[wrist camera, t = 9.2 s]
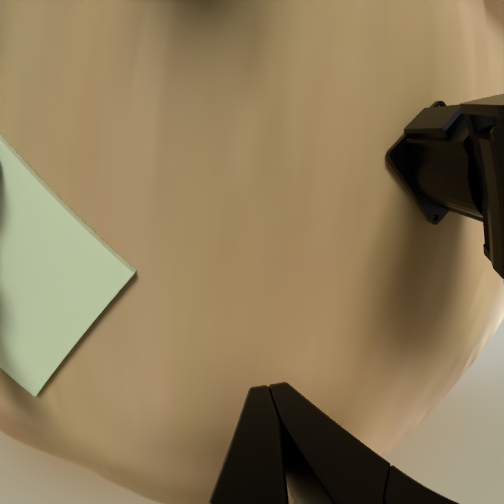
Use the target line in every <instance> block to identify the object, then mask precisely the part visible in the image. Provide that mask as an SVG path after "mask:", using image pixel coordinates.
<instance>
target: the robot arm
mask: <svg viewBox="0 0 504 504" xmlns="http://www.w3.org/2000/svg"><path fill="white" fill-rule="evenodd" d="M439 105H440V107H439ZM394 152H395V154H396V158H395V159H394V158H393V153H394ZM386 156H387V159H388V161H389V163H390V164H391V165H392V167H393V168H394V170H395V171H396V172H397V174H398V175H399V177H400V178H401V180H402V181H403V183H404V184H405V185H406V187H407V188H408V190H409V191H410V193H411V195H412V196H413V198H414V199H415V201H416V202H417V204H418V205H419V207H420V208H421V210H422V212H423V213H424V215H425V217H426V218H427V220H428V221H429V222H430V223H432V224H435V225H436V224H438V223H439V222H440V221H441V220H442V218H443V217H444V216H445V215H446V214H447V213H448V211H452V212H455V213H458V214H461V215H464V216H467V217H470V218H472V219H475V220H478V221H481V222H483V225H484V238H485V244H484V245H483V246H484V254H485V256H486V257H487V258H488V259H489V260H490V261H491V263H492V266H493V269H494V270H495V271H496V272H497V273H498V274H499V275H500V276H501V277H502V278H503V279H504V94H501V95H496V96H491V97H487V98H482V99H478V100H473V101H469V102H465V103H461V104H460V105H451V106H446V104H445V103H444V102H443V101H436V102H434V103H433V104H432V106H431V107H430V108H424V109H423V110H422V111H421V112H420V113H419V114H418V115H417V116H416V117H415V118H414V119H413V120H412V121H411V122H410V123H409V124H408V125H407V126H406V127H405V129H404V134H403V135H402V136H401V137H400V138H399V140H398V141H397V142H396V143H395V144H394V145H393V146H392V147H391V148H390V149H389V150H388V151H387V154H386ZM434 215H435V218H434V219H433V216H434ZM287 485H288V487H289V490H290V493H291V495H292V498H293V500H294V503H295V504H459V503H457V502H454V501H452V500H450V499H448V498H446V497H444V496H442V495H440V494H438V493H436V492H434V491H432V490H430V489H429V488H427V487H425V486H423V485H422V484H420V483H418V482H417V481H415V480H414V479H412V478H411V477H409V476H407V475H406V474H405V473H403V472H402V471H400V470H399V469H397V468H396V467H395V466H390V463H389V462H387V461H386V460H385V459H383V458H382V457H381V456H379V455H378V454H377V453H375V452H374V451H372V450H371V449H370V448H368V447H367V446H366V445H364V444H363V443H362V442H360V441H359V440H358V439H357V438H355V437H354V436H353V435H351V434H350V433H349V432H347V431H346V430H345V429H344V428H342V427H341V426H340V425H338V424H337V423H336V422H335V421H333V420H332V419H331V418H330V417H328V416H327V415H326V414H325V413H323V412H322V411H321V410H320V409H318V408H317V407H316V406H315V405H313V404H312V403H311V402H310V401H309V400H307V399H306V398H305V397H304V396H303V395H301V394H300V393H299V392H298V391H297V390H295V389H294V388H293V387H292V386H291V385H289V384H288V383H286V382H282V383H276V384H271V385H269V387H268V386H266V385H263V386H256V387H251V388H250V389H249V391H248V394H247V397H246V400H245V403H244V406H243V409H242V412H241V415H240V418H239V421H238V424H237V426H236V429H235V432H234V435H233V438H232V441H231V444H230V446H229V449H228V452H227V455H226V457H225V460H224V463H223V466H222V469H221V471H220V474H219V477H218V479H217V482H216V485H215V487H214V490H213V493H212V495H211V498H210V501H209V503H210V504H289V502H288V491H287Z"/></svg>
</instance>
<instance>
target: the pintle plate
mask: <svg viewBox="0 0 504 504" xmlns="http://www.w3.org/2000/svg"><path fill="white" fill-rule="evenodd" d="M135 272H136V270H135V269H134V268H133V267H132V266H131V265H130V264H128V263H127V262H126V261H125V260H124V259H123V258H122V257H121V256H120V255H118V254H117V253H116V252H115V251H114V250H113V249H112V248H111V247H110V246H109V245H108V244H106V243H105V242H104V241H103V240H102V239H101V238H100V237H99V236H98V235H97V234H96V233H95V232H94V231H93V230H92V229H90V228H89V227H88V226H87V225H86V224H85V223H84V222H83V221H82V220H81V219H80V218H79V217H78V216H77V215H76V214H75V213H74V212H73V211H72V210H71V209H70V208H69V207H68V206H67V205H66V204H65V203H64V202H63V201H62V200H61V199H60V198H59V197H58V196H57V195H56V194H55V193H54V192H53V191H52V190H51V189H50V188H49V187H48V186H47V185H46V184H45V183H44V182H43V181H42V179H41V178H40V177H39V176H38V175H37V174H36V173H35V172H34V171H33V170H32V169H31V168H30V167H29V166H28V165H27V163H26V162H25V161H24V160H23V159H22V158H21V157H20V156H19V155H18V153H17V152H16V151H15V150H14V149H13V148H12V147H11V146H10V144H9V143H8V142H7V141H6V140H5V139H4V138H3V136H2V135H1V134H0V368H1V369H2V370H3V371H4V372H6V373H7V374H8V375H9V376H10V377H11V378H12V379H14V380H15V381H16V382H17V383H18V384H20V385H21V386H22V387H23V388H24V389H26V390H27V391H28V392H29V393H31V394H32V395H33V396H34V397H35V396H36V395H37V394H38V392H39V391H40V390H41V388H42V387H43V386H44V384H45V383H46V381H47V380H48V379H49V377H50V376H51V375H52V374H53V372H54V371H55V370H56V368H57V367H58V366H59V364H60V363H61V362H62V360H63V359H64V358H65V357H66V355H67V354H68V353H69V351H70V350H71V349H72V348H73V346H74V345H75V344H76V343H77V341H78V340H79V339H80V338H81V336H82V335H83V334H84V333H85V331H86V330H87V329H88V328H89V327H90V325H91V324H92V323H93V322H94V320H95V319H96V318H97V317H98V316H99V314H100V313H101V312H102V311H103V310H104V308H105V307H106V306H107V305H108V304H109V302H110V301H111V300H112V299H113V298H114V297H115V295H116V294H117V293H118V292H119V291H120V290H121V288H122V287H123V286H124V285H125V284H126V283H127V282H128V280H129V279H130V278H131V277H132V276H133V275H134V273H135Z"/></svg>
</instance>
